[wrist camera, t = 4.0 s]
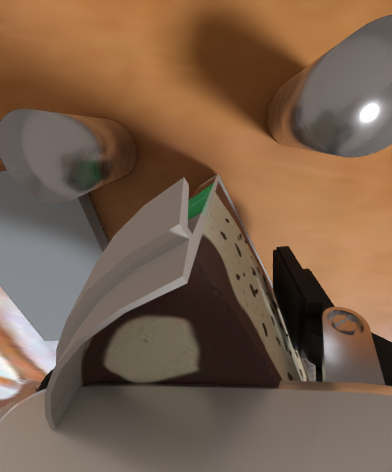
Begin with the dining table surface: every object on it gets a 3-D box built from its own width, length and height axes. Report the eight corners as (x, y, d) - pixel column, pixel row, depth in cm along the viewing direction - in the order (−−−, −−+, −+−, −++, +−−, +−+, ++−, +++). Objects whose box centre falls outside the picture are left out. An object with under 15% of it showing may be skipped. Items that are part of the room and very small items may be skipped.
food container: (118, 199, 12) (-137, 375, 3) (205, 147, 10) (147, 228, 2) (209, 323, 17) (203, 535, 8) (281, 301, 15) (377, 546, 6)
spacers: (338, 66, 9) (468, -5, 4) (305, 334, 17) (337, 406, 12) (76, 125, 11) (-24, 119, 6) (159, 338, 19) (142, 401, 14)
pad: (72, 157, 11) (60, 159, 11) (145, 328, 18) (141, 338, 17) (-60, 183, 13) (-80, 187, 12) (52, 331, 20) (44, 341, 19)
